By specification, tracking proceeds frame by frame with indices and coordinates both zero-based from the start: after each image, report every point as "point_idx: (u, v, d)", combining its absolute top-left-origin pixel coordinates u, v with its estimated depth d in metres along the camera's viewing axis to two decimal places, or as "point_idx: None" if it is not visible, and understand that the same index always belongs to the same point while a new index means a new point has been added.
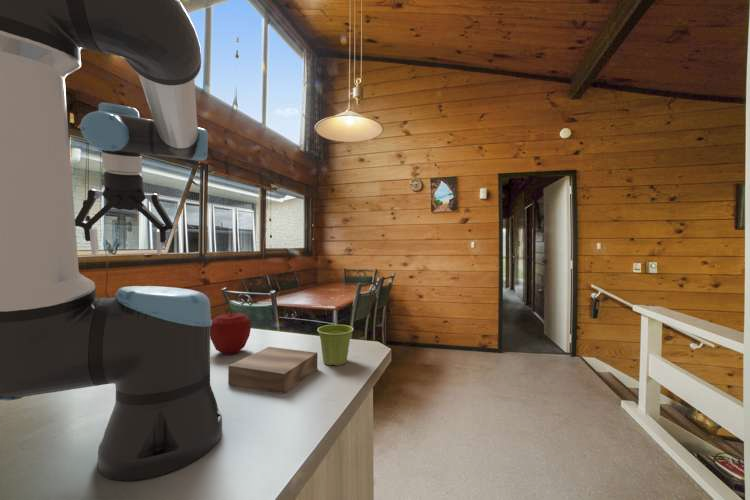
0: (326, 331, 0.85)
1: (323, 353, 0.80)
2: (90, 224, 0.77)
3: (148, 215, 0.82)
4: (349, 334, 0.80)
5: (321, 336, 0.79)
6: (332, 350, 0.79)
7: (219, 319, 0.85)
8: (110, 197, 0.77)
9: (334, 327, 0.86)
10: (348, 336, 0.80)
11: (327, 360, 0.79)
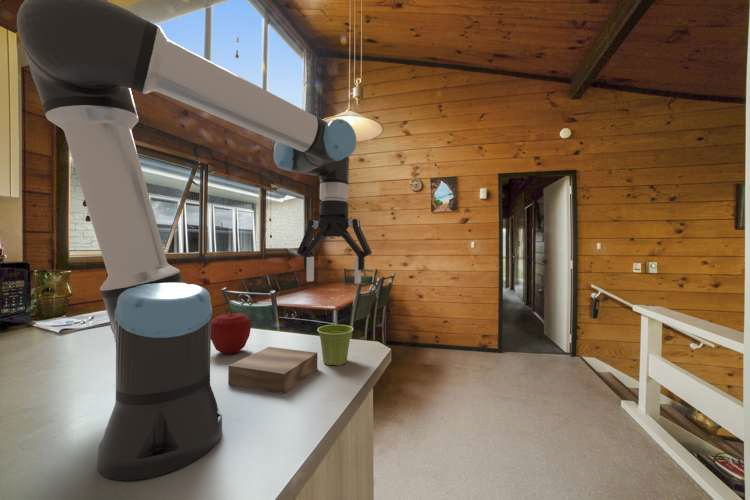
0: (326, 331, 0.85)
1: (323, 353, 0.80)
2: (307, 252, 0.83)
3: (349, 240, 0.80)
4: (349, 334, 0.80)
5: (321, 336, 0.79)
6: (332, 350, 0.79)
7: (219, 319, 0.85)
8: (322, 225, 0.82)
9: (334, 327, 0.86)
10: (348, 336, 0.80)
11: (327, 360, 0.79)
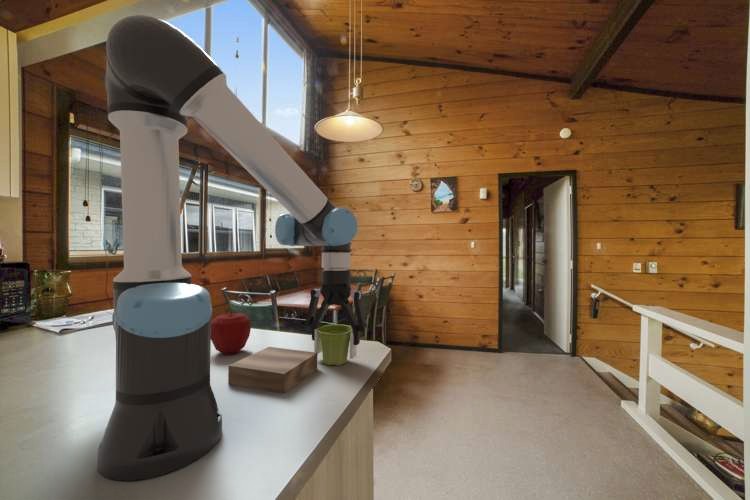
0: (326, 331, 0.85)
1: (323, 353, 0.80)
2: (315, 323, 0.83)
3: (347, 313, 0.80)
4: (349, 334, 0.80)
5: (321, 336, 0.79)
6: (332, 350, 0.79)
7: (219, 319, 0.85)
8: (325, 293, 0.82)
9: (334, 327, 0.86)
10: (348, 336, 0.80)
11: (328, 360, 0.79)
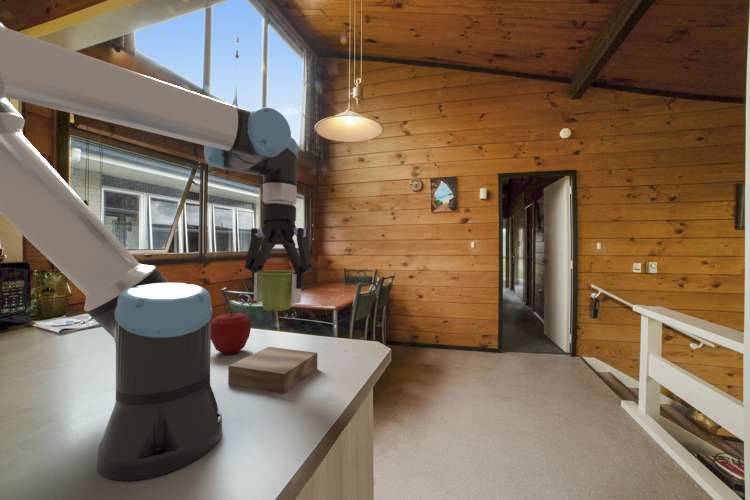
0: None
1: (262, 298, 0.71)
2: (255, 266, 0.73)
3: (290, 252, 0.70)
4: None
5: (259, 277, 0.70)
6: (271, 293, 0.69)
7: (219, 319, 0.85)
8: (266, 231, 0.72)
9: None
10: (290, 278, 0.70)
11: (266, 305, 0.70)
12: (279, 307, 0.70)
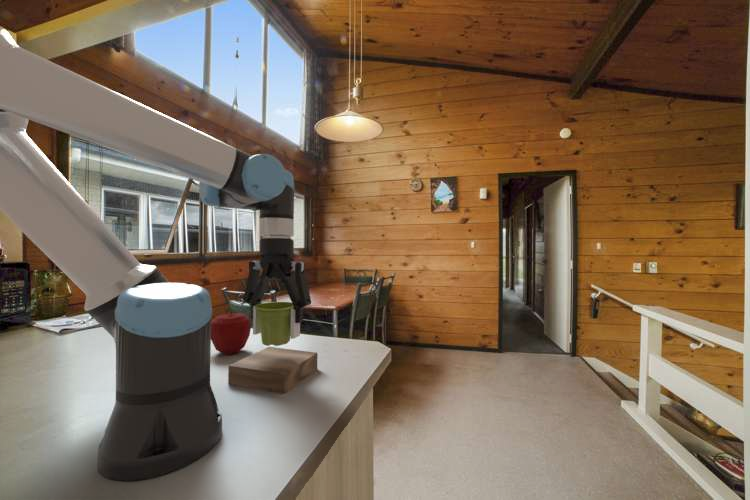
0: (268, 309, 0.75)
1: (261, 332, 0.71)
2: (254, 299, 0.73)
3: (288, 287, 0.70)
4: (290, 310, 0.71)
5: (258, 313, 0.70)
6: (269, 328, 0.69)
7: (219, 319, 0.85)
8: (264, 264, 0.72)
9: (278, 305, 0.77)
10: (289, 313, 0.70)
11: (265, 340, 0.70)
12: (278, 342, 0.70)
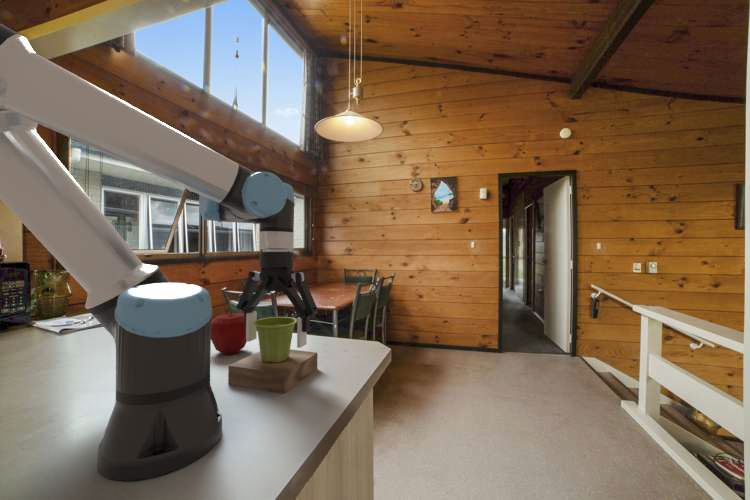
0: (267, 324, 0.75)
1: (260, 349, 0.70)
2: (247, 307, 0.73)
3: (291, 297, 0.70)
4: (290, 327, 0.71)
5: (257, 329, 0.70)
6: (269, 345, 0.69)
7: (219, 319, 0.85)
8: (263, 278, 0.72)
9: (277, 320, 0.77)
10: (288, 329, 0.70)
11: (264, 356, 0.70)
12: (277, 359, 0.70)
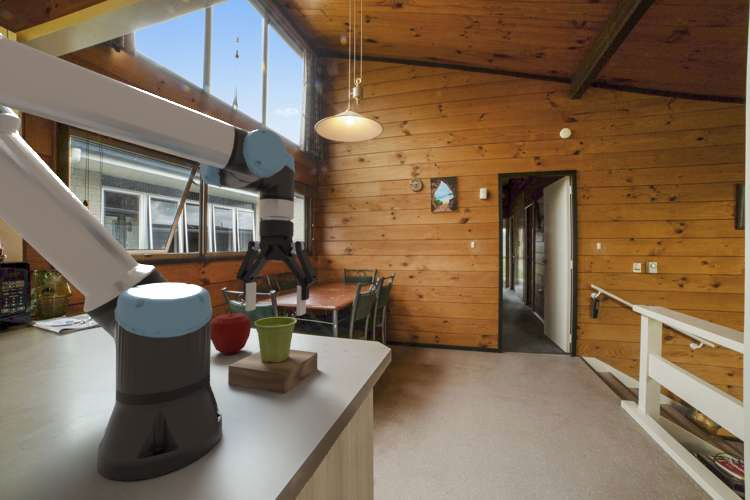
0: (267, 324, 0.75)
1: (260, 349, 0.70)
2: (247, 277, 0.73)
3: (291, 266, 0.70)
4: (290, 327, 0.71)
5: (257, 329, 0.70)
6: (269, 345, 0.69)
7: (219, 319, 0.85)
8: (263, 247, 0.72)
9: (277, 320, 0.77)
10: (288, 329, 0.70)
11: (264, 357, 0.70)
12: (277, 359, 0.70)
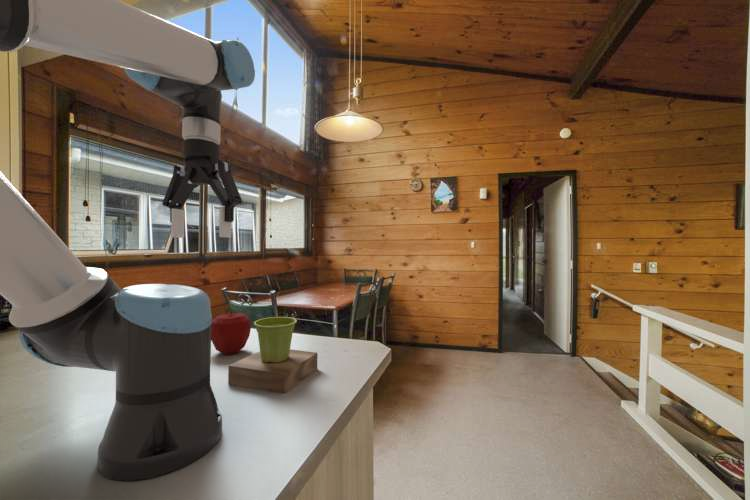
0: (267, 324, 0.75)
1: (260, 349, 0.70)
2: (173, 202, 0.71)
3: (214, 186, 0.68)
4: (290, 327, 0.71)
5: (257, 329, 0.70)
6: (269, 345, 0.69)
7: (219, 319, 0.85)
8: None
9: (277, 320, 0.77)
10: (288, 329, 0.70)
11: (264, 357, 0.70)
12: (277, 359, 0.70)
